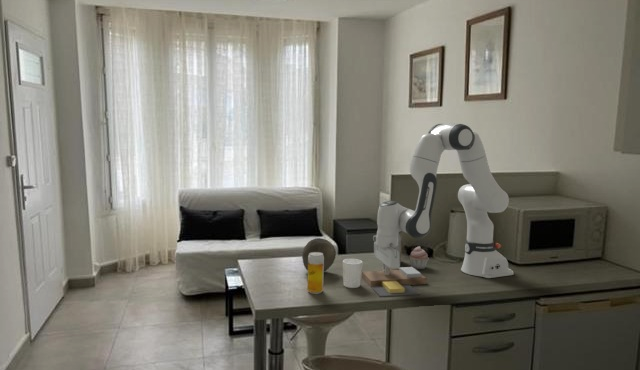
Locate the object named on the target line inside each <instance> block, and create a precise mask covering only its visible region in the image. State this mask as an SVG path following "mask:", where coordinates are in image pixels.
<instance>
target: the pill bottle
mask: <svg viewBox="0 0 640 370" xmlns="http://www.w3.org/2000/svg"><path fill="white" fill-rule="evenodd" d="M324 273H325V271H324V256H323V253H320V252H311V253H309V256H308V270H307V291H308V293H309V294H313V295H319V294H321V293H322V292H323V291H324V279H325V278H324Z"/></svg>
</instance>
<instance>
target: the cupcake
mask: <svg viewBox="0 0 640 370" xmlns="http://www.w3.org/2000/svg"><path fill="white" fill-rule="evenodd" d="M428 256H429V255H428V253H427V251H425V250H424V249H422V248H421V246H420V245H419V246H417V247H415V248H414V249H413V250H412V251H411V252H410V255H409V256H408V259H409V263H410V267H413V268H414V269H416V270H425V269H426V266H427V264H428V261H429V259H430V258H429V257H428Z"/></svg>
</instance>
